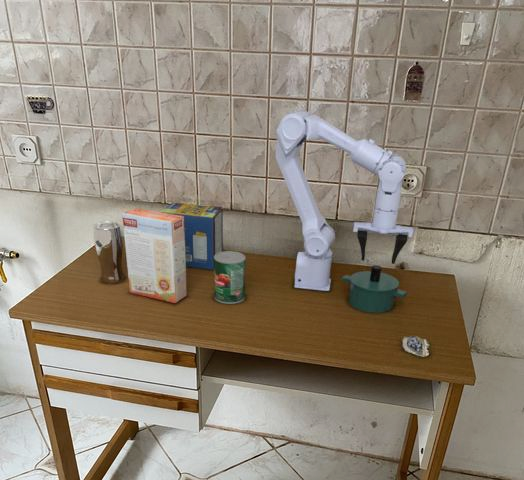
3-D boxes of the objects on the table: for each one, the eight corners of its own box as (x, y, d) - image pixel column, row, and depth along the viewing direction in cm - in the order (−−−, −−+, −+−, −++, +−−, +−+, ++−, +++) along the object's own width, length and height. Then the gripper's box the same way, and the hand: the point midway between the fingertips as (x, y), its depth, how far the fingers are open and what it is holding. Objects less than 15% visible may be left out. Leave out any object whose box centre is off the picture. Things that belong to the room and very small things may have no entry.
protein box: (175, 252, 160) (172, 201, 152) (223, 257, 157) (223, 206, 149) (162, 264, 151) (159, 211, 143) (213, 270, 148) (213, 216, 141)
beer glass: (94, 281, 138) (86, 226, 131) (110, 272, 144) (103, 219, 136) (116, 286, 136) (109, 231, 129) (131, 277, 142) (126, 223, 134)
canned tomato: (250, 295, 135) (251, 255, 129) (235, 306, 129) (235, 265, 123) (224, 288, 138) (224, 249, 132) (208, 299, 132) (207, 258, 126)
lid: (386, 298, 124) (390, 280, 121) (341, 285, 130) (343, 267, 127) (405, 283, 132) (409, 265, 130) (362, 271, 138) (364, 254, 136)
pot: (392, 320, 126) (396, 298, 123) (331, 301, 134) (334, 280, 131) (409, 304, 134) (414, 283, 131) (351, 287, 142) (354, 267, 139)
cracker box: (188, 296, 133) (185, 215, 122) (175, 304, 128) (171, 221, 118) (143, 284, 138) (136, 206, 127) (128, 293, 133) (120, 212, 122)
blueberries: (423, 338, 119) (425, 330, 118) (439, 356, 112) (441, 348, 111) (395, 339, 118) (397, 332, 117) (409, 357, 111) (411, 350, 110)
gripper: (356, 210, 124) (349, 263, 131) (417, 215, 122) (407, 269, 129) (357, 202, 130) (350, 253, 137) (415, 207, 128) (405, 259, 135)
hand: (377, 260), depth 134 cm, fingers open, 7 cm apart
